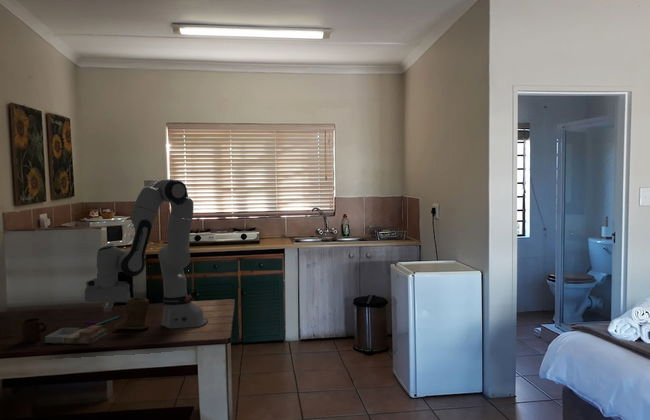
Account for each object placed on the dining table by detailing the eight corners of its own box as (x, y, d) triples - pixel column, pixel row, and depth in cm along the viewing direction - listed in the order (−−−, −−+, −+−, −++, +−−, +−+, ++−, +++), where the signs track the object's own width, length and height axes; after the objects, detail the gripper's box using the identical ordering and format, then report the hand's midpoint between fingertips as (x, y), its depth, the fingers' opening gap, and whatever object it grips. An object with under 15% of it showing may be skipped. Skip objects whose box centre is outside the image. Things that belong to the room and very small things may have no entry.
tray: (79, 334, 240) (79, 327, 240) (62, 343, 226) (62, 336, 226) (62, 334, 240) (62, 327, 240) (45, 343, 226) (44, 336, 226)
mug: (54, 339, 233) (52, 318, 232) (41, 344, 226) (39, 323, 225) (32, 337, 236) (31, 317, 235) (18, 342, 228) (17, 322, 228)
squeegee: (105, 314, 272) (120, 315, 268) (105, 317, 272) (120, 318, 269) (60, 330, 245) (76, 331, 242) (60, 333, 245) (76, 335, 242)
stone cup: (154, 325, 252) (153, 295, 251) (142, 332, 240) (141, 300, 240) (126, 324, 255) (125, 295, 254) (113, 331, 243) (111, 300, 242)
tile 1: (102, 329, 238) (102, 325, 237) (97, 332, 233) (96, 328, 232) (92, 329, 238) (91, 325, 238) (86, 332, 233) (86, 328, 233)
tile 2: (95, 333, 232) (95, 329, 231) (90, 336, 227) (90, 332, 226) (85, 333, 232) (85, 329, 232) (79, 336, 227) (79, 332, 227)
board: (107, 333, 239) (107, 328, 239) (92, 343, 225) (91, 337, 225) (80, 334, 240) (80, 328, 240) (63, 343, 226) (63, 337, 226)
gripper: (132, 280, 236) (133, 310, 236) (89, 279, 237) (90, 309, 238) (126, 282, 230) (126, 313, 230) (82, 282, 231) (82, 312, 231)
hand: (107, 311), depth 234 cm, fingers closed
